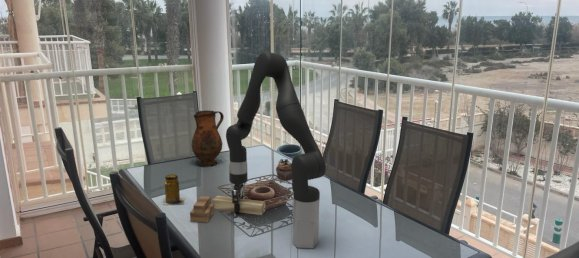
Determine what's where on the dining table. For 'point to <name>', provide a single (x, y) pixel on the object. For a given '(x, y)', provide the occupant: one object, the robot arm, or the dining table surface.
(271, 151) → the dining table surface
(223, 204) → the batten
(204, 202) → the stair steps
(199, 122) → the pitcher
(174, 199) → the condiment
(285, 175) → the cupcake
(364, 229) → the dining table surface
